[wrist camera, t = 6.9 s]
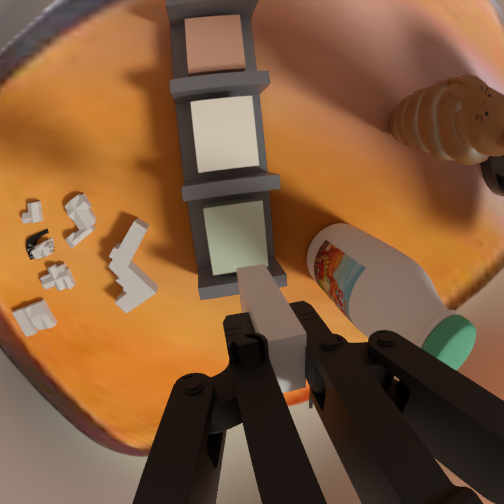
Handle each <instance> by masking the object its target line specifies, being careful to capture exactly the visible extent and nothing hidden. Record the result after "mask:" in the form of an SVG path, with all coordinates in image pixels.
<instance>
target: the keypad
mask: <svg viewBox="0 0 504 504" xmlns="http://www.w3.org/2000/svg"><path fill="white" fill-rule="evenodd" d="M257 2H258V0H166V8H167V13H168V17H169V22H170V27H171V48H172V65H173V79H172V80H170V92H171V95H172V97H173V99H174V101H175V103H176V113H177V123H178V133H179V142H180V150H181V159H182V167H183V174H184V184H183V185H182V187H181V190H182V197H183V202H185V201H187V203H188V210H189V217H190V223H191V229H192V236H193V242H194V248H195V253H196V259H197V265H198V290H199V295H200V300H205V299H212V298H218V297H224V296H231V295H237V294H240V292H239V285H238V277H237V272H232V273H225V274H219V275H213V271H212V265H211V258H210V252H209V245H208V239H207V232H206V225H205V219H204V211H203V204H207V203H214V202H221V201H228V200H236V199H244V198H252V197H258V198H260V199H261V200H262V201H263V210H264V221H265V232H266V244H267V255H268V267H266V268H267V269H268V271H269V272H270V274H271V276H272V277H273V279H274V281H275V282H276V284H277V286H278V287H284V286H287V275H286V273H285V271H284V270H283V269H282V267H281V266H280V264H279V263H278V262H277V260H276V259H275V256H274V243H273V231H272V218H271V207H270V195H269V190H275V189H281V188H280V176H279V174H275V173H271V172H267V163H266V152H265V142H264V132H263V123H262V113H261V104H260V95H259V94H260V93H261V92H262V91H263V90H264V89H265V88H266V87H267V86H268V85H269V84H270V78H269V71H257V68H256V60H255V52H254V43H253V35H252V28H251V20H250V19H251V16H252V14H253V12H254V9H255V7H256V5H257ZM221 15H240V21H241V30H242V38H243V47H244V56H245V64H246V69H245V71H244V72H231V73H219V74H209V75H200V76H192V77H189V74H188V62H187V49H186V33H185V19H189V18H197V17H207V16H221ZM240 96H252V100H253V109H254V119H255V128H256V138H257V148H258V158H259V165H258V166H249V167H240V168H231V169H223V170H215V171H208V172H201V173H198V166H197V157H196V149H195V140H194V131H193V122H192V112H191V102H193V101H201V100H209V99H218V98H228V97H240Z"/></svg>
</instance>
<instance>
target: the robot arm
mask: <svg viewBox="0 0 504 504" xmlns="http://www.w3.org/2000/svg"><path fill="white" fill-rule="evenodd" d="M481 164H482V169H483V173H484V176H485V179H486V182H487V184H488V186H489V188H490V189H491V190H492V191H493V192H494V193H495V194H497V195H500V196H504V155H503V156H489V157H488V159H487V160H486V161H484V162H481ZM236 269H237V277H238V285H239V292H240V300H241V307H242V313H240V314H234V315H228V316H226V318H225V320H224V322H223V326H224V332H225V337H226V343H227V349H228V355H229V364H228V366H227V368H226V369H225V370H224V371H223V372H221V373H219V374H218V375H215V376H213V377H211V378H210V377H209V376H207V375H205V374H201V373H190V374H187V375H184V376H182V377H181V378H179V379H178V380H177V381H176V383H175V384H174V386H173V389H172V391H171V394H170V397H169V399H168V402H167V405H166V408H165V410H164V413H163V416H162V419H161V422H160V424H159V427H158V430H157V433H156V436H155V439H154V441H153V444H152V447H151V450H150V453H149V456H148V459H147V462H146V465H145V467H144V470H143V474H142V476H141V479H140V483H139V486H138V489H137V491H136V495H135V497H134V501H133V504H216V498H217V491H218V484H219V477H220V471H221V465H222V458H223V451H224V445H225V438H226V430H228V429H230V428H232V427H234V426H237V425H239V424H241V423H243V427H244V431H245V435H246V440H247V444H248V448H249V453H250V457H251V461H252V465H253V469H254V473H255V477H256V481H257V485H258V489H259V493H260V497H261V501H262V504H327V503H326V500H325V498H324V496H323V493H322V491H321V488H320V486H319V484H318V481H317V479H316V476H315V474H314V472H313V469H312V467H311V464H310V462H309V459H308V457H307V454H306V452H305V449H304V447H303V444H302V442H301V439H300V437H299V434H298V432H297V429H296V427H295V424H294V422H293V419H292V416H291V414H290V411H289V409H288V406H287V404H286V401H285V398H284V396H283V393H284V392H289V391H293V390H297V389H301V388H305V387H306V379H307V381H308V383H309V385H310V393H309V408H312V406H313V403H314V405H315V408H316V410H317V412H318V414H319V416H320V418H321V420H322V422H323V424H324V426H325V429H326V431H327V433H328V435H329V437H330V439H331V441H332V443H333V445H334V447H335V449H336V451H337V453H338V455H339V457H340V460H341V462H342V464H343V466H344V468H345V470H346V472H347V474H348V476H349V478H350V480H351V482H352V484H353V486H354V488H355V490H356V492H357V495H358V497H359V499H360V501H361V503H362V504H483V503H482V501H481V500H480V498H479V497H478V496H477V494H476V493H475V492H474V491H473V490H472V489H470V488H468V487H459V486H455V485H453V484H452V483H451V481H450V480H449V478H448V477H447V476H446V475H445V473H444V471H443V470H442V469H441V467H440V466H439V464H438V463H437V462H436V460H435V459H437V460H438V461H439V462H441V463H442V464H443V465H444V466H445V467H447V468H448V469H449V470H450V471H451V472H453V473H454V474H455V475H457V476H458V477H459V478H460V479H462V480H463V481H464V482H465V483H467V484H468V485H469V486H470V487H472V488H473V489H474V490H476V491H477V492H478V493H479V494H481V495H482V496H483V497H485V498H486V499H488V500H489V501H491V502H493V503H495V504H504V401H503V400H501V399H500V398H498V397H497V396H495V395H493V394H492V393H490V392H489V391H487V390H486V389H484V388H483V387H481V386H480V385H478V384H476V383H475V382H473V381H471V380H470V379H469V378H467V377H465V376H464V375H462V374H461V373H459V372H458V371H456V370H454V369H453V368H451V367H450V366H448V365H447V364H445V363H443V362H442V361H440V360H439V359H437V358H436V357H434V356H432V355H431V354H429V353H428V352H426V351H425V350H423V349H421V348H420V347H418V346H417V345H415V344H413V343H412V342H410V341H409V340H407V339H406V338H404V337H402V336H401V335H399V334H398V333H395V332H393V331H389V330H379V331H376V332H373V333H372V334H371V335H370V337H369V339H368V342H363V343H348V342H347V340H346V339H345V338H344V337H342V336H340V335H338V334H332V332H331V331H330V330H329V328H328V327H327V326H326V324H325V323H324V322H323V320H322V319H321V318H320V316H319V315H318V313H316V311H315V309H314V308H313V307H312V305H310V304H308V303H306V302H305V301H299V302H294V303H289V304H288V302H287V300H286V299H285V297H284V295H283V294H282V292H281V290H280V289H279V287H278V286H277V284H276V282H275V281H274V279H273V277H272V276H271V274H270V272H269V271H268V269H267V268H266V266H265V264H259V265H253V266H247V267H241V268H236ZM394 376H396V377H397V378H398V379H400V381H397V380H395V379H394ZM434 458H435V459H434Z"/></svg>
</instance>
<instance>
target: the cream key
mask: <svg viewBox="0 0 504 504" xmlns="http://www.w3.org/2000/svg"><path fill="white" fill-rule="evenodd" d="M191 112H192V122H193V131H194V140H195V149H196V157H197V166H198V173H201V172H208V171H215V170H223V169H231V168H240V167H249V166H258V165H259V158H258V148H257V138H256V128H255V119H254V109H253V100H252V96H240V97H228V98H218V99H209V100H201V101H193V102H191Z"/></svg>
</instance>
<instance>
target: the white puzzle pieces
mask: <svg viewBox="0 0 504 504" xmlns="http://www.w3.org/2000/svg"><path fill="white" fill-rule="evenodd" d="M27 206H28V212H25V213H22V218H21V220H22V221H23V223H35V222H40V221H42V220H43V216H42V208H41V201H37V202H30V203H27ZM64 207H65V208H66V211H67V214H68V216H69V217H70V218H71V219H72V220H73V221H74V223H75V224H76V226H77V227H78V229H79V230H78V231H75V232H73V233H72V234H71V235H70V236H69V237H67V238H66V239H65V240H66V242H67V243H68V245H69V246H70V248H71V249H72V248H73V247H74V246H75V245H76V244H78V243H79V242H80V241H81V240H82V239H84V238H85V237H86V236H87V235H89V234H90V233H91V232H92V231H93V230H95V229H96V228H95V227H94V225H93V224H94V223H96V221H95V219H97V218H96V216H95V215H94V213H93V212H92V210H91V209H90V207H92V205H91V203H90V202H89V200H88V198H87V197H86V195H85V194H83V195H82V194H81V193H80V194H78V195H77V196H75V197H74V198H73V199H72V200H70V201H69V202H68V203H67V204H66V205H65V206H64ZM148 227H149V225H148V224H147V223H145V222H144V221H142V220H141V219H139V218H137V219H136V220H135V221H134V222H133V224H132V226H131V227H130V229H129V231H128V233H127V234H126V236H125V238H124V239H123V241H122V243H117V244H116V245H115V247H114V248H113V250H112V252H111V253H110V255H109V257H110V258H112V261H111V263H110V265H109V268H110V269H111V270H112V271H113V272H114V273H115V274H116V275H117V276H118V277H117V279H116V280H115V281H116V282H118V283H119V284H120V285H121V286H122V287H123V289H122V290H123V291H124V292H122V293H121V294H120V295H118V297H117V299H116V301H115V304H116V305H117V306H119V307H120V308H121V309H122V310H123V311H125V312H126V313H128V312H129V311H131V310H132V309H134V308H135V307H137V306H138V305H140V304H141V303H143V302H144V301H145V300H147V299H148V298H150V297H151V296H153V295H154V294H156V293H157V289H158V285H157V284H156V283H155V282H154V281H153V280H151V279H150V278H149V277H148V276H147V275H146V274H145V273H144V272H143V271H142V270H141V269H140V268H139V267H138V266H137V265H136V264H134V263H133V262H132V261H131V260H132V258H133V256H134V254H135V252H136V250H137V248H138V246H139V244H140V242H141V240H142V239H143V237H144V235H145V233H146V231H147V229H148ZM46 233H49V232H48V229H46V230H44V231H42V232H40V233H38V234H36V235H34V236H32V237H31V238H29V239H27V244H26V248H27V253H28V255H29V258H30V260H31V259H33V258H37V259H40V258H42V257H46V256H47V255H49V254H51V253H52V251H53V250H52V249H53V248H54V244H53V242H54V240H53V238H51V239H48V240H45V241H44V242H42V243H40V244H38V245H36V241H37V240H38V238H39V237H41V236H42V235H44V234H46ZM53 252H54V251H53ZM33 256H34V257H33ZM47 270H48V272H49V273H48V274H46V275H43V276H42V277H41V278H40V279H41V284H42V286H43V287H44V288H45V289H49V288H51V287H54V286H56V288H57V290H58V291H61V290H62V289H64V288H67V289H70V288H72V287H74V286H75V284H76V283H75V281H74V279H73V277H72V273H71V271H70V269H69V268H67V266H66V264H65V263H63V264H61V265H59V266H58V264H57V263H56V264H54V265H52V266H49V267H48V268H47ZM13 315H14V317H15V319H16V320H17V322H18V324H19V325H20V327H21V329H22V330H23V332H24V334H25V335H26V337H27V336H31V335H34V334H36V333H37V332H38V331H37V329H36V327H37V328H38V329H39V330H42V329H49V328H51V327H53V326H55V325H56V324H57V321H56V320H55V318H54V316H53V314H52V313H51V311H50V309H49V307H48V305H47V303H46V302H45V300H44V299H43V300H40V301H38V302H35V303H32V304H30V305H27V306H24V307H22V308H19V309H16V310H14V311H13Z"/></svg>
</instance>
